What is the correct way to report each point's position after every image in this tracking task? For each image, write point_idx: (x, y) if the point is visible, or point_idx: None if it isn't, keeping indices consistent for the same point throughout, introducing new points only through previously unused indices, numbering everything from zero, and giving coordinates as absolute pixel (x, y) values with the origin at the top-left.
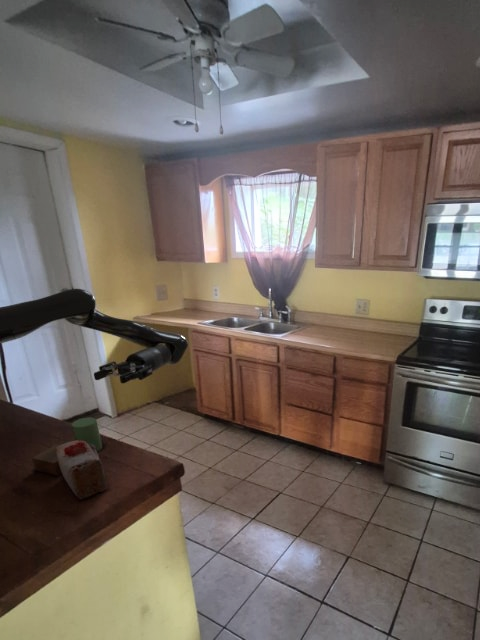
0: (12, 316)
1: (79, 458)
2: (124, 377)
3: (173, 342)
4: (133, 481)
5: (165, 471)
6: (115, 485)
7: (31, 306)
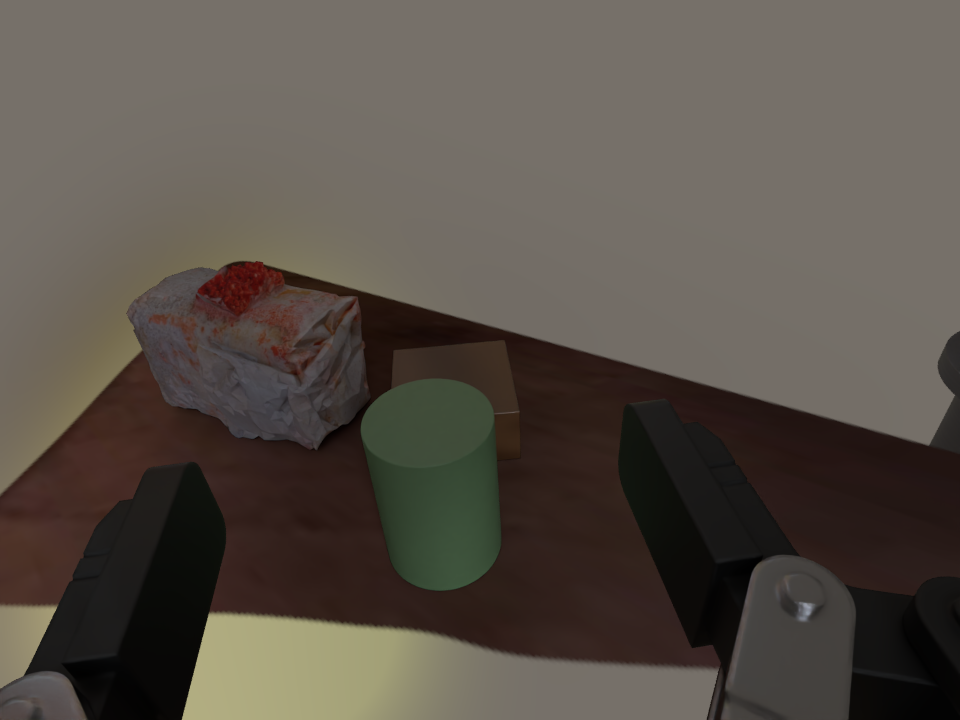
0: None
1: (195, 280)
2: (129, 503)
3: None
4: (90, 464)
5: None
6: (153, 431)
7: None
